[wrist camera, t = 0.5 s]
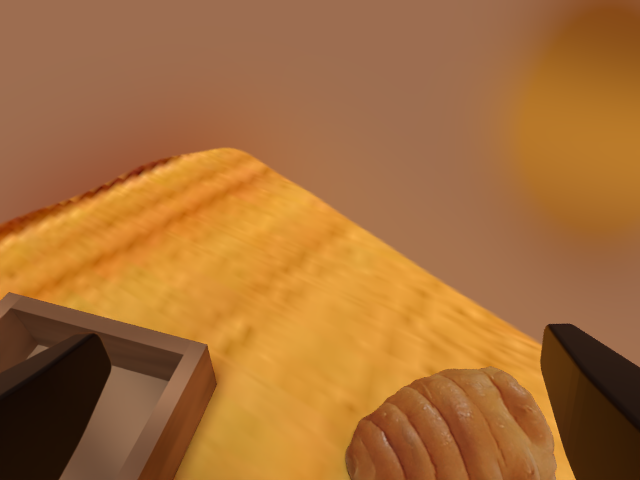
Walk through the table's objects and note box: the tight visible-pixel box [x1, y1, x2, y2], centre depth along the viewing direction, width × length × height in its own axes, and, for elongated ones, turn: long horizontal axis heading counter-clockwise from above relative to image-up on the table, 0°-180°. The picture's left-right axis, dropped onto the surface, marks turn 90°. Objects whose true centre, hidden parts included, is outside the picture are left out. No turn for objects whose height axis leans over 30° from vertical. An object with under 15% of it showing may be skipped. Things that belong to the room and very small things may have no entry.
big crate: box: [0, 292, 217, 480], centre depth 19 cm, size 11×11×4 cm
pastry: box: [346, 366, 557, 480], centre depth 20 cm, size 9×7×4 cm
